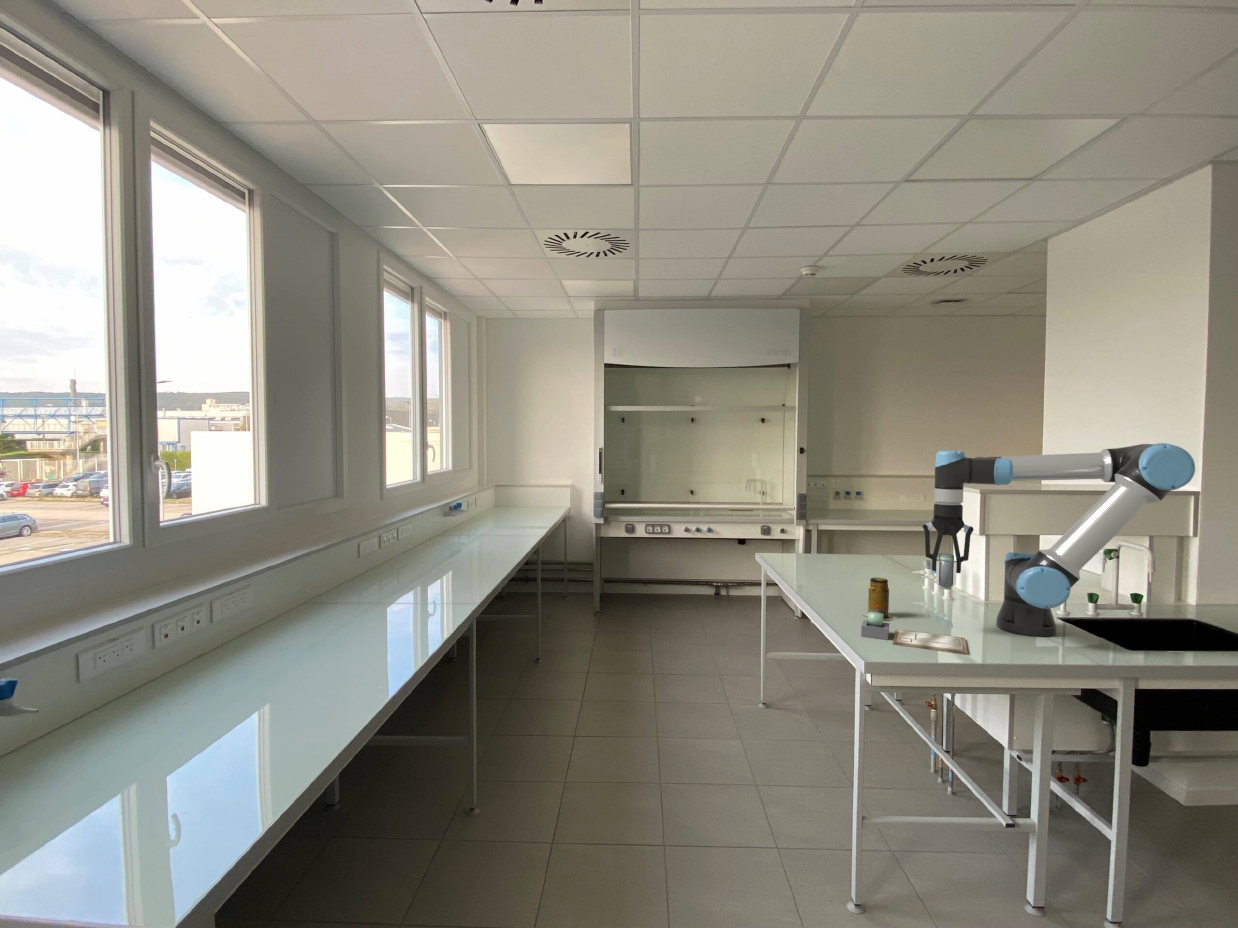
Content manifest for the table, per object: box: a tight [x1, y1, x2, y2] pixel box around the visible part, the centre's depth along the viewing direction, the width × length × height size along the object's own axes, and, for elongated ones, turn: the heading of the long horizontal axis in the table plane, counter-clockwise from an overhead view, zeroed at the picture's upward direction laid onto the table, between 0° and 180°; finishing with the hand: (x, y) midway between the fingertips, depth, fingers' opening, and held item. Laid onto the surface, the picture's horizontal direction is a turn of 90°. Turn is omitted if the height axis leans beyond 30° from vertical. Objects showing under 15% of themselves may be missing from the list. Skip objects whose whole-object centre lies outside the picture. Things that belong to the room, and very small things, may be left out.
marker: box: [937, 552, 955, 591], centre depth 186 cm, size 4×4×10 cm
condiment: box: [863, 577, 899, 621], centre depth 203 cm, size 7×8×12 cm
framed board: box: [892, 628, 968, 656], centre depth 177 cm, size 18×14×1 cm
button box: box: [860, 619, 890, 641], centre depth 183 cm, size 7×7×3 cm
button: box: [867, 612, 884, 626], centre depth 183 cm, size 4×4×3 cm
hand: (945, 582), depth 186 cm, fingers closed on marker, 4 cm apart
